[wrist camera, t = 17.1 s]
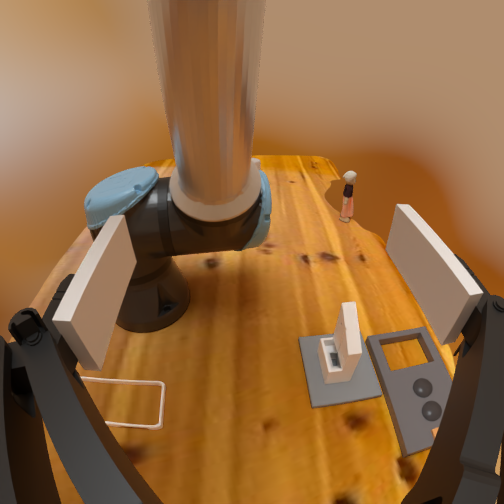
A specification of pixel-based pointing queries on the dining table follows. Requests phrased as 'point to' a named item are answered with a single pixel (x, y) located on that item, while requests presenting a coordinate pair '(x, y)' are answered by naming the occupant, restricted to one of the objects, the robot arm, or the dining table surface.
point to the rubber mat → (341, 392)
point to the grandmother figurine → (348, 196)
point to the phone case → (135, 382)
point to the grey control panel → (412, 390)
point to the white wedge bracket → (341, 347)
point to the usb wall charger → (256, 162)
